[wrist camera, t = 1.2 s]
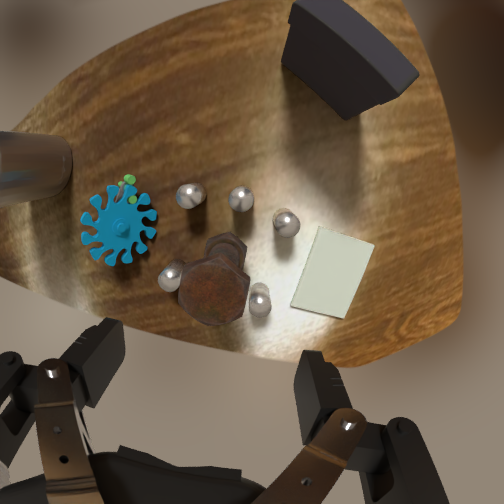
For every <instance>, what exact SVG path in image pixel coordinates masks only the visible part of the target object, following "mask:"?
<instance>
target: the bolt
mask: <svg viewBox="0 0 504 504" xmlns="http://www.w3.org/2000/svg"><path fill="white" fill-rule="evenodd" d="M246 252H247V246H246V245H245V244H244V243H243V242H242V241H241V240H240V239H239V238H238V237H237V236H235V235H234V234H232V233H231V232H227V233H223V234H220V235H217V236H214V237H212V238H209V239H208V240H207V243H206V248H205V253H204V258H202V259H199V260H196V261H193V262H190V263H187V264H185V266H184V267H183V269H182V274H181V279H180V285H179V295H178V303H179V304H180V306H181V307H182V308H183V309H184V310H185V311H186V312H187V313H188V314H189V315H190V316H191V317H193V318H194V319H195V320H197V321H199V322H200V323H202V324H205V325H207V326H214V325H221V324H225V323H229V322H231V321H234V320H236V319H238V318H240V317H242V315H243V312H244V308H245V304H246V300H247V295H248V290H249V285H250V277H249V276H248V275H247V274H246V273H245V272H243V271H242V270H243V266H244V261H245V257H246Z"/></svg>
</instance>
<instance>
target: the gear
mask: <svg viewBox="0 0 504 504" xmlns="http://www.w3.org/2000/svg"><path fill="white" fill-rule="evenodd" d="M135 181H136V179H135V177H134V176H132V175H129V174H128V175H126V176H125V177H124V182H119V183H118V186H119V187H120V189H119V187H117V186H115V185H110V186H107V193H108V203H107V206H106V208H105V209H101V208H100V206H101V203H102V198H101V197H100V196H99V195H95V196H93V197H92V198H91V199H90V203H91V204H92V205H93V206H94V207H95V208H96V209H97V211H98V216H99V218H98V220H97V221H95V222H93V221H92V218H91V215H90V214H89V213H88V212H84V213H83V215H82V217H81V219H80V221H81V222H82V224H84V225H91V226H93V227H94V228H96V229H97V234H96V235H95V236H91V235H90V234H89V233H88V232H83V233H82V235H81V240H82V243H83V244H84V245H88V244H89V243H91V242H94V241H99V242H103V245H102V246H101V247H100V248H96V247H93V248H91V249H90V254H91V255H92V257H93V258H94V260H98V259H99V258H100V256H101V255H102V253H103V252H105V251H106V250H109V249H113V252H112V253H111V254H109V255H107V256H106V257H105V258H104V261H105V262H106V263H107V264H108V265H110V266H114V265H115V263H116V257H117V255H118V253H119V252H120V251H121V250H122V249H123V248H125V249H126V250H125V252H124V253H123V255H122V256H121V260H122V262H123V263H131V262H132V260H133V258H132V256H131V246H132V244H133V242H137V244H136V251H137V252H138V253H139V254H142V253H144V252H145V251H146V250H147V246H146V245H145V244H143V243H142V242H141V240H140V235H139V234H140V232H141V231H142V230H144V232H145V235H146V236H147V237H148V238H150V239H152V238H153V236H154V235H155V233H156V230H155V229H154V228H152V227H146V226H144V225H143V224H142V222H141V220H142V218H143V217H145V216H146V217H147V218H148V219H150V220H151V221H154V220H156V215H157V211H155V210H153V209H149V210H147V211H144V212H140V211H137V207H138V205H139V204H144V205H148V204H149V203H150V198H149V196H148V194H146V193H143V194H141V195H140V197H139V198H138V199H137V197H136V196H135V194H136V192H137V189H136V188H135V187H134V183H135ZM117 194H118V195H117ZM116 195H117V198H116V201H115V203H114V201H113V199H114V197H115V196H116Z"/></svg>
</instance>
